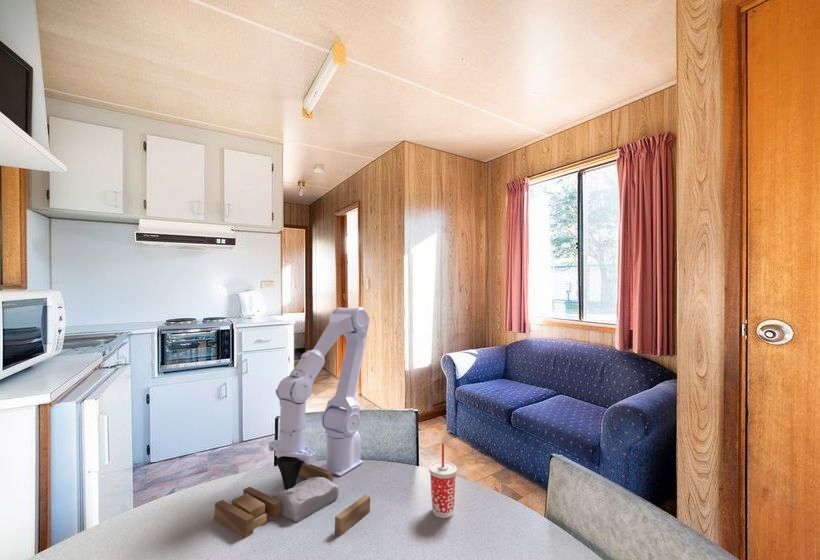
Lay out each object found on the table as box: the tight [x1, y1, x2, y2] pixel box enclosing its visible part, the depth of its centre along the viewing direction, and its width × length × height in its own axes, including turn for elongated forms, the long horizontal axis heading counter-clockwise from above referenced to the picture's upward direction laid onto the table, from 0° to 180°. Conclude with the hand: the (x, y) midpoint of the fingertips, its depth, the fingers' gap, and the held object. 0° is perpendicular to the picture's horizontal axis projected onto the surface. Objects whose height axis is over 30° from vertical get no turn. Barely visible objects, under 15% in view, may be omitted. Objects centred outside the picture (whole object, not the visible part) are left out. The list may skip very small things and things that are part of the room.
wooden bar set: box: [214, 461, 371, 539], centre depth 70 cm, size 23×26×3 cm
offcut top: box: [231, 494, 265, 519], centre depth 68 cm, size 3×7×2 cm, turn 55°
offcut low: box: [253, 513, 268, 531], centre depth 67 cm, size 4×8×2 cm, turn 58°
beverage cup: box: [428, 442, 458, 519], centre depth 71 cm, size 6×6×14 cm
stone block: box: [275, 477, 340, 523], centre depth 73 cm, size 12×5×10 cm
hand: (289, 488), depth 77 cm, fingers closed
